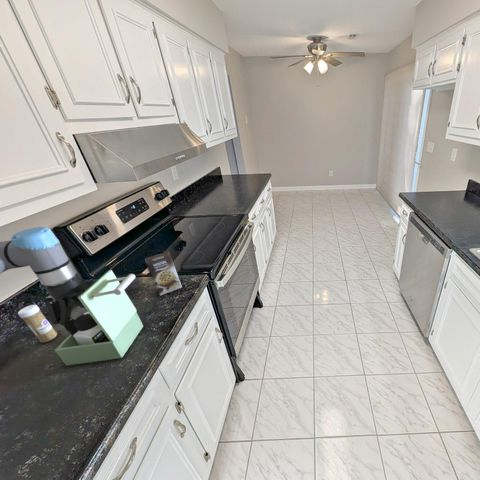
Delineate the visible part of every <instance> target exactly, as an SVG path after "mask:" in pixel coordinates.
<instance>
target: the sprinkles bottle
mask: <svg viewBox="0 0 480 480" xmlns="http://www.w3.org/2000/svg"><path fill="white" fill-rule="evenodd" d="M17 314H18V316H19V317H20V318H21V319H23V321H24V322H25V323H26V325H27V327H28V328H29V329H30V330H31V331H32V333H33V334H34V336H36V337H37V339H38V340H39V343H47V342H50V341H51V340H53V339H54V338H56V337H57V336H58V332H57V331H56V330H55V329H54V328H53V325H52V324H51V323H50V322H49V320H48V319H47V318H46V317H45V315H44V314H43V312H42V311H41V310H40V307H39V306H38V305H37V304H30V305H28V306H25V307H23V308H21V309H20V310H19V311H18V312H17Z"/></svg>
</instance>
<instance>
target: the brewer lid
mask: <svg viewBox="0 0 480 480" xmlns="http://www.w3.org/2000/svg"><path fill="white" fill-rule="evenodd" d="M135 279H136V275H135V274H134V273H129V274H128V275H127V276H123V277H117V276H116V275H115V273H114V272H113V270H112V269H109V270H108V271H106V272H105V273H104V274H103V275H102V276H100V278H98V279H97V280H96V281H95V282H94V283H93V284H91V286H89V287H88V288H87V289H85V290H86V291H85V292H84V293H83V294H81V295H80V296H79V297H78V299H79V300H80V301H81V303H82V304H83V305H84V307H85V309H86V312H89V313H90V315H91V316H92V317H93V319H94V320H95V321H96V323H97V324H98V325H99V327H100V328H101V329H102V331H103V332H104V334H105V335H106V336H107V338H108V339H109V340H110V342H113V341H114V340H115V339H116V337H117V336H118V335H119V333H120V332H121V331H122V329H123V328H124V327H125V326H126V324H127V323H128V322H129V320H130V319H131V318H132V316H133V315H134V314H135V312H136V313H137V307H135V306H134V304H133V302H132V300H131V298H130V297H129V295H128V294H127V292H126V291H125V290H126V289H127V288H128V286H130V285H131V284H132V283H133V281H135ZM120 281H121V282H120Z"/></svg>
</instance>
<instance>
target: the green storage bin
mask: <svg viewBox="0 0 480 480" xmlns="http://www.w3.org/2000/svg"><path fill="white" fill-rule="evenodd" d="M143 328H144V324H143V323H142V319H140V316H139V314H138V312H137V311H136V312H135V314H134V315H133V316H132V318H131V319H130V320H129V322H128V323H127V324H126V326H125V327H124V328H123V329H122V331H121V332H120V333H119V335H118V336H117V337H116V339H115V340H114V341H113V342H102V343H95V344H87V345H79V344H78V342H77V341H76V340H75V339H74V338H73V336H72V335H71V333H70V335H68V336H67V337H66V338H65V339H64V340H63V341H62V342H61V343H60V344H59V345H58V346H57V347H56V348H55V349H54V352H55V353H56V354H57V356H58V357H59V358H60V360H61V361H62V362H63V363H64V365H65V366H73V365H74V366H75V365H81V364H88V363H94V362H101V361H102V362H103V361H110V360H117V359H118V360H119V359H122V358H123V357H124V356H125V354H126V353H127V352H128V349H129V348H130V347H131V345H132V344H133V342H134V341H135V340H136V338H137V337H138V335H139V334H140V332H141V331H142V329H143Z"/></svg>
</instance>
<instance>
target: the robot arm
mask: <svg viewBox="0 0 480 480" xmlns="http://www.w3.org/2000/svg"><path fill="white" fill-rule="evenodd" d="M10 239H11V240H2V241H0V275H1V274H3V273H4V272H6V271H9V270H12V269H18V268H25V267H29V268H30V269H31V270H32V272H33V273H34V274H35V276H36V278H37V279H38V281H39V282H40V283H41V285H42V286H44V287H43V288H44V289H45V290H46V292H47V293H48V296H47V297H45V298H44V299H43V303H45V305H46V306H47V309H48V311H49V316H50V319H51V322H52V324H53V325H59V324H60V326H63V327H64V329H65V330H66V331H67V332H69V333H70V334H71V335H72V336H73V335H74V334H75V333H77V332H78V329H77V328H76V326H75V325H74V321H75V318H73V317H72V309H73V307H74V306H75V307H80V308H81V309H84V308H85V307H84V305H83V304H82V303H81V301H80V300H79V299H78V297H79V296H80V295H81V294H83V293H84V292H85V291H86V290H87V289H85V287H84V281H83V279H82V278H81V276H80V275H79V273H77V270H76V268H75V267H74V265H73V263H72V262H71V260H70V258H69V257H68V256H67V254H66V252H65V250H64V248H63V247H62V245H61V242H60V240H59V239H58V238H57V236H56V235H55V234H54V232H53V231H52V230H51V229H50V228H49V227H47V226H35V227H32V228H27V229H23V230H19V231H18V232H15V233H13V234H12V235H11V237H10ZM85 309H86V308H85ZM73 338H74V337H73ZM74 339H75V338H74ZM75 340H76V339H75Z"/></svg>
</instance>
